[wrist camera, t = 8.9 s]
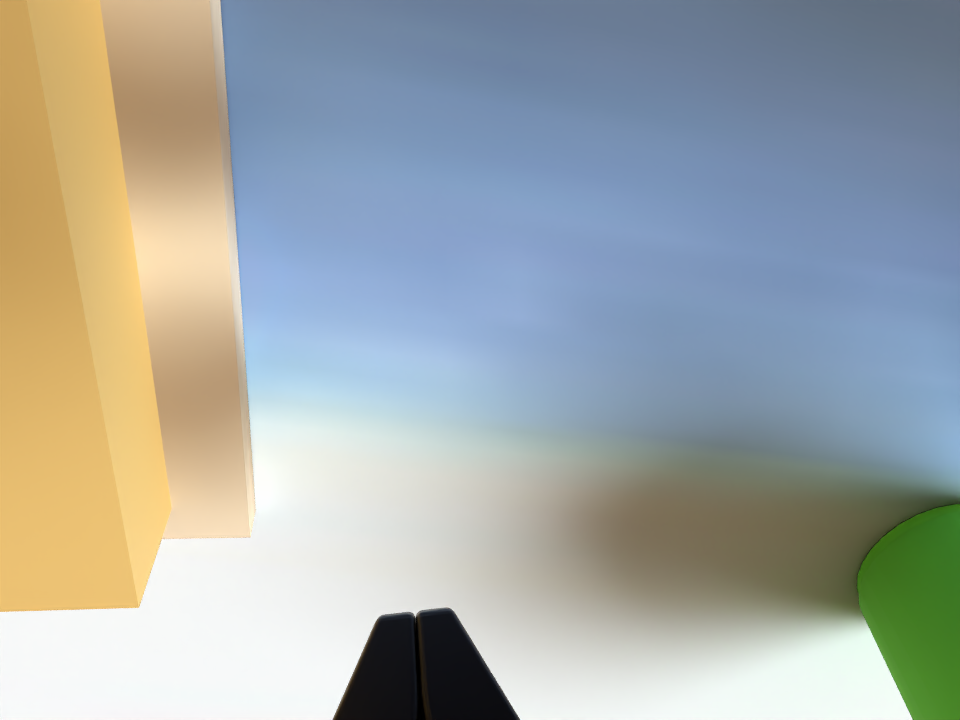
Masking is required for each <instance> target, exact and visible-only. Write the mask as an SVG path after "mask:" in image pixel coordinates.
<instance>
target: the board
mask: <svg viewBox="0 0 960 720" xmlns="http://www.w3.org/2000/svg"><path fill="white" fill-rule="evenodd" d="M100 6H101V13H102V20H103V27H104V34H105V41H106V48H107V55H108V62H109V69H110V76H111V84H112V91H113V98H114V105H115V112H116V119H117V126H118V133H119V140H120V147H121V154H122V161H123V168H124V175H125V182H126V189H127V196H128V203H129V211H130V218H131V225H132V232H133V239H134V246H135V253H136V260H137V267H138V274H139V281H140V288H141V295H142V302H143V309H144V316H145V323H146V331H147V338H148V345H149V352H150V359H151V366H152V373H153V380H154V387H155V394H156V401H157V408H158V415H159V422H160V429H161V436H162V443H163V450H164V458H165V465H166V472H167V479H168V486H169V493H170V500H171V507H172V509H171V512H170V515H169V518H168V521H167V524H166V527H165V530H164V533H163V536H162V539H184V538H246V537H251V532H252V526H253V521H254V516H255V511H256V509H255V494H254V480H253V466H252V451H251V437H250V422H249V408H248V394H247V379H246V365H245V350H244V336H243V322H242V307H241V293H240V278H239V264H238V250H237V235H236V221H235V206H234V192H233V178H232V163H231V149H230V134H229V120H228V106H227V91H226V77H225V62H224V48H223V34H222V19H221V5H220V0H100Z"/></svg>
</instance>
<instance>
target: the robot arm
mask: <svg viewBox="0 0 960 720" xmlns="http://www.w3.org/2000/svg"><path fill="white" fill-rule="evenodd" d="M333 720H520V719H519V717H518V715H517V714H516V712H515V710H514V709H513V707H512V706H511V704H510V702H509V701H508V699H507V697H506V696H505V694H504V692H503V691H502V689H501V688H500V686H499V684H498V683H497V681H496V679H495V678H494V676H493V674H492V673H491V671H490V669H489V668H488V666H487V665H486V663H485V661H484V660H483V658H482V656H481V655H480V653H479V651H478V650H477V648H476V647H475V645H474V643H473V642H472V640H471V638H470V637H469V635H468V633H467V632H466V630H465V628H464V627H463V625H462V624H461V622H460V620H459V619H458V617H457V615H456V614H455V612H454V611H453V610H452V609H450V608H438V609H429V610H422V611H419V612H418V613H417V615H416V618H415V616H414V614H413V613H411V612H403V613H394V614H385V615H382V616H380V617H379V618H378V619H377V621H376V622H375V624H374V627H373V629H372V631H371V633H370V636H369V638H368V640H367V643H366V645H365V647H364V649H363V652H362V654H361V656H360V658H359V661H358V663H357V665H356V668H355V670H354V672H353V674H352V677H351V679H350V681H349V683H348V686H347V688H346V690H345V693H344V695H343V697H342V699H341V702H340V704H339V706H338V709H337V711H336V713H335V715H334V718H333Z"/></svg>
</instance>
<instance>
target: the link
mask: <svg viewBox="0 0 960 720" xmlns="http://www.w3.org/2000/svg"><path fill="white" fill-rule="evenodd" d="M171 509H172V507H171V500H170V493H169V486H168V479H167V472H166V465H165V458H164V450H163V443H162V436H161V429H160V422H159V415H158V408H157V401H156V394H155V387H154V380H153V373H152V366H151V359H150V352H149V345H148V338H147V331H146V323H145V316H144V309H143V302H142V295H141V288H140V281H139V274H138V267H137V260H136V253H135V246H134V239H133V232H132V225H131V218H130V211H129V203H128V196H127V189H126V182H125V175H124V168H123V161H122V154H121V147H120V140H119V133H118V126H117V119H116V112H115V105H114V98H113V91H112V84H111V76H110V69H109V62H108V55H107V48H106V41H105V34H104V27H103V20H102V13H101V6H100V0H0V612H9V611H42V610H76V609H110V608H139V606H140V603H141V600H142V597H143V594H144V591H145V588H146V585H147V582H148V579H149V576H150V573H151V570H152V567H153V564H154V561H155V558H156V555H157V552H158V548H159V545H160V542H161V539H162V536H163V533H164V530H165V527H166V524H167V521H168V518H169V515H170V512H171Z"/></svg>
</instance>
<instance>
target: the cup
mask: <svg viewBox="0 0 960 720" xmlns="http://www.w3.org/2000/svg"><path fill="white" fill-rule="evenodd" d="M857 590H858V593H859V605H860V608H861V611H862V613H863V616H864V618H865V620H866V622H867V624H868V626H869V628H870V630H871V633H872V635H873V637H874V639H875V641H876V643H877V645H878V647H879V649H880V651H881V654H882V656H883V658H884V660H885V662H886V664H887V666H888V668H889V670H890V673H891V675H892V677H893V679H894V681H895V683H896V685H897V687H898V689H899V691H900V694H901V696H902V698H903V700H904V702H905V704H906V706H907V708H908V710H909V712H910V715H911V717H912V719H913V720H960V504H954V505H949V506H943V507H938V508H935V509H932V510H929V511H926V512H923V513H921V514H918V515H916V516H914V517H912V518H910V519H908V520H907V521H905V522H903V523H901V524H899V525H898V526H897V527H895V528H894V529H893V530H891V531H890V532H889V533H887V534H886V535H885V536H883V537H882V538H881V539H880V541H879V542H878V543H877V544H876V545H875V546H874V547H873V548H872V549H871V550H870V552H869V553H868V555H867V556H866V558H865V559H864V561H863V563H862V565H861V568H860V570H859V573H858V576H857Z"/></svg>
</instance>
